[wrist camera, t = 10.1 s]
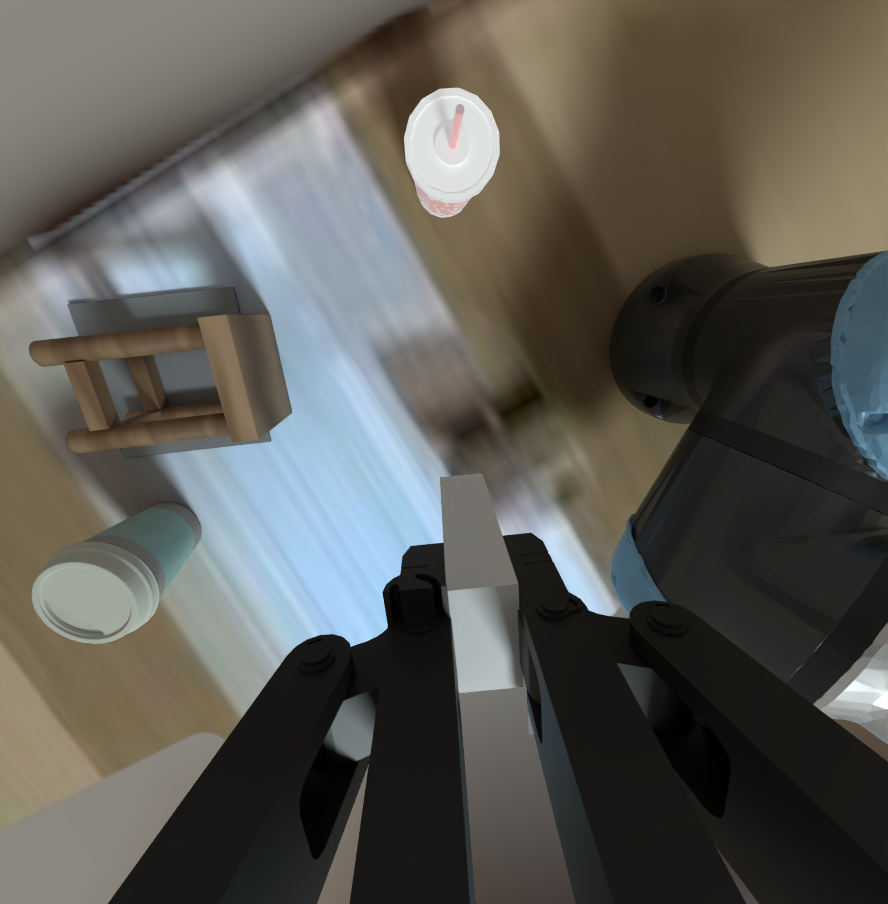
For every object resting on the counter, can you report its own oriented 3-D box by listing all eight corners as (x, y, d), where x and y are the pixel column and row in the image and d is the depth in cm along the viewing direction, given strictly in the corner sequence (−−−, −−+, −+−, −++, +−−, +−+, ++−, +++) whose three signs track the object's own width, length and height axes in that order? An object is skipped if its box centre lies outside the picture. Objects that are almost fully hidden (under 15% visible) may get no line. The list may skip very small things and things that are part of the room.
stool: (226, 314, 29) (18, 337, 28) (258, 439, 32) (70, 461, 31) (270, 314, 37) (110, 332, 37) (292, 412, 40) (144, 430, 40)
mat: (233, 287, 36) (232, 287, 36) (271, 440, 41) (270, 441, 41) (70, 304, 36) (67, 304, 36) (125, 457, 41) (123, 458, 40)
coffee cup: (112, 501, 42) (-2, 571, 30) (194, 480, 42) (111, 543, 30) (151, 572, 45) (60, 660, 33) (228, 553, 44) (164, 635, 33)
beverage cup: (419, 236, 36) (419, 191, 23) (397, 155, 34) (385, 55, 21) (487, 216, 36) (528, 159, 23) (470, 134, 34) (504, 18, 21)
